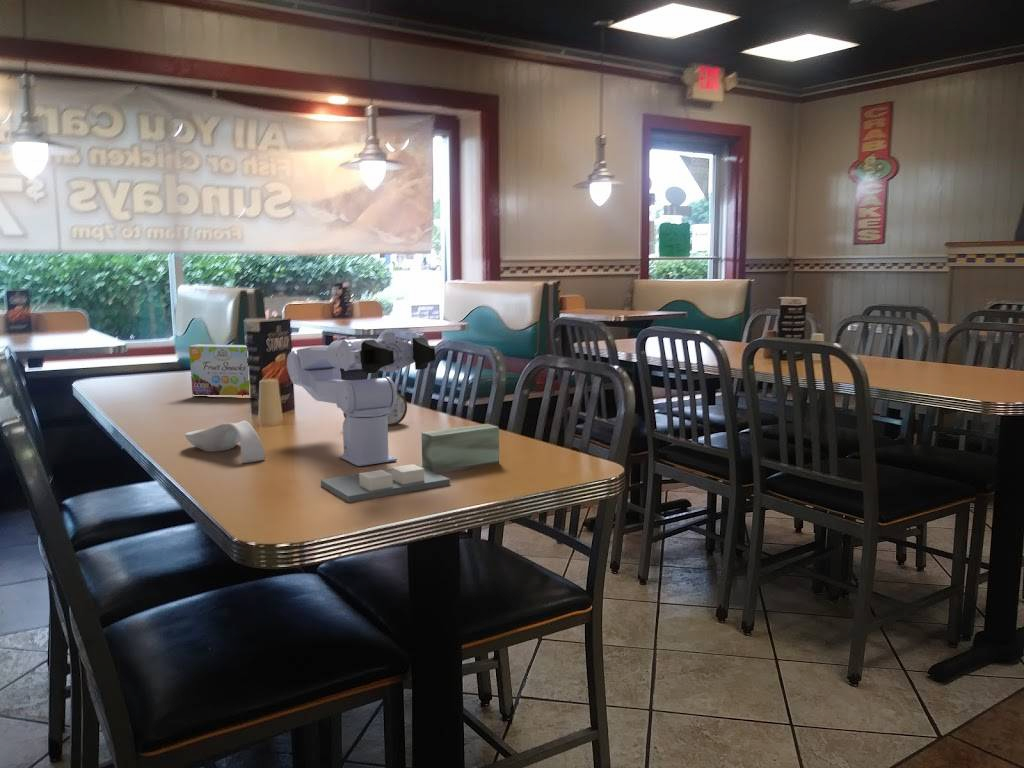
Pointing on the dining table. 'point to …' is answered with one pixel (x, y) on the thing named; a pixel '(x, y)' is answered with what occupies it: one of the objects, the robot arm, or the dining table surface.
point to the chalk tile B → (407, 474)
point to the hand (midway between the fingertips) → (412, 355)
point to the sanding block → (460, 448)
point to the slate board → (353, 491)
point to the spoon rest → (229, 440)
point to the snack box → (219, 369)
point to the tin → (396, 411)
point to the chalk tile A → (376, 480)
